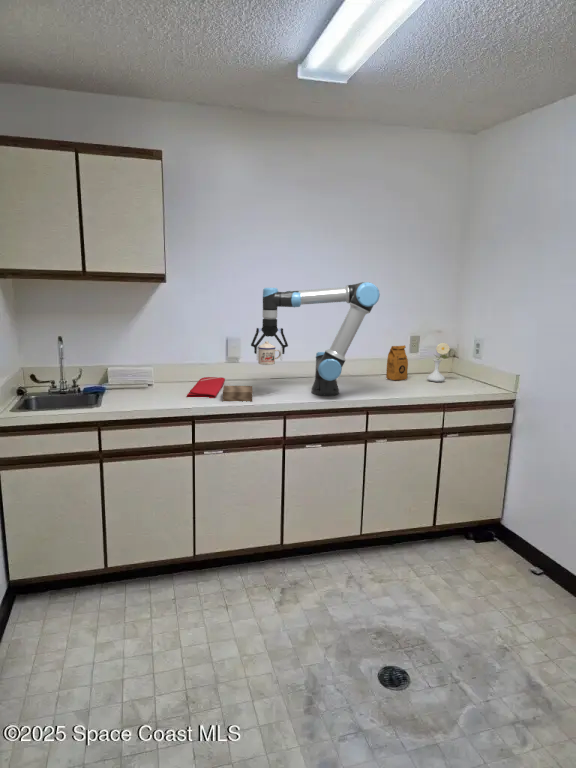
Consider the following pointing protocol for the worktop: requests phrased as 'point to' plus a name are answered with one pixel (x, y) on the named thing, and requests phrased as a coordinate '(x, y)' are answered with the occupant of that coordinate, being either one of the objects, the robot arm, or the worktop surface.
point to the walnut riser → (237, 393)
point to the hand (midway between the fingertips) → (269, 360)
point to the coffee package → (397, 363)
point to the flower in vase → (436, 376)
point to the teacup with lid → (267, 354)
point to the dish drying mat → (207, 387)
